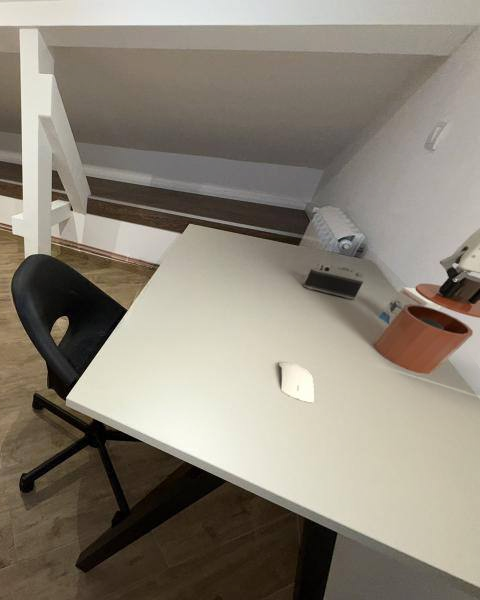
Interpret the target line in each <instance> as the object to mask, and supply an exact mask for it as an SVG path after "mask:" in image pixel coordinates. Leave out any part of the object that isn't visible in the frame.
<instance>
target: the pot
mask: <svg viewBox="0 0 480 600" xmlns="http://www.w3.org/2000/svg"><path fill="white" fill-rule="evenodd" d="M419 318H426V319H430V320H432V321H435V322H437V323H439V324H440V325H441V326H443V328H444V329H443V330H441V329H438V328H436V327H433V326H431V325H428V324H426V323H424V322H422V321H420V320H418V319H419ZM473 333H474V332H473V329H472V328H471V327H470V326H469V325H468V324H466V323H465V322H463V321H461V320H460V319H458V318H457V317H454V316H452V315H451V314H449V313H446V312H444V311H442V310H435V309H433V308H429V307H425V306H421V305H413V304H409V305H404V307H403V308H402V309H401V310H400V311H399V313H398V314H397V315H396V316H395V318H394V319H393V320H392V321H391V322H390V324H387V326H386V327H385V328H384V329H383V330H382V332H381V333H380V334H379V335H378V337H377V338H376V340H374V342H373V348H374V349H375V351H376V352H378V353H379V354H380V355H381V356H382V357H383V358H384V359H386V360H388V361H389V362H391V363H392V364H394V365H397V366H398V367H401V368H403V369H404V370H407V371H411V372H414V373H417V374H425V375H430V374H432V373H434V372H436V371H437V369H438V368H440V367H441V366H442V365H443V364H444V363H445V362H446V361H447V360H448V359H449V358H450V357H451V356H452V355H453V354H454V353H455V352H456V351H457V350H458V349H459V348H461V347H462V345H464V344H465V342H467V341H468V340H469V339H470V338H471V337H472V336H473Z"/></svg>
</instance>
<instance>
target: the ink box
mask: <svg viewBox="0 0 480 600" xmlns="http://www.w3.org/2000/svg"><path fill="white" fill-rule="evenodd" d="M409 304H413V305H421V306H425V307H429V308H433V309H435V310H438V311H440V309H441V308H442V306H440V305H437V304H435V303H433V302H431V301H429V300H428V299H426V298H424V297H423V296H421V295H420V294H419V293H418V292H417V291H416V289H415V288H414V287H407V286H406V287H405V286H403V287H402V288H401V289H400V291H399V292H398V293H397V294H396V295H395V297H393V299H392V300H391V301H390V302H389V303H388V305H387V306H386V307H385V308H384V310H383V311H382V312H381V313H380V314H379V315H378V317H379V318H380V319H381V320H383V321H384V322H385V323H386V324H387V325H389V324H390V322H391V321H392V320H393V319H394V318H395V316H396V315H397V314H398V313H399V311H400V310H401V309H402V308H403V307H404V305H409Z"/></svg>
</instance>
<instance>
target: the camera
mask: <svg viewBox="0 0 480 600" xmlns="http://www.w3.org/2000/svg"><path fill="white" fill-rule="evenodd" d="M309 270H310V271H309V273H308V275H307V277H306V279H305V282H304V284H303V287H304V288H305V289H306V290H311V291H313V290H315V291H319V292H322V293H324V294H331V295H335V296H339V297H343V298H344V299H347V300H355V299H356V297H357V295H358V293H359V292H360V289H361V287H362V285H363V284H364V282H365V279H366V278H365V277H363V276H364V274H365V273H361V272H356V269H354V268H353V269H349V268H348V267H346V266H345V267H344V266H343V267H335V266H333V265H330V266H329V265H326V264H325V265H324V264H321V263H317V265H316V267H314V268H313V267H311V268H310V269H309Z"/></svg>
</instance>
